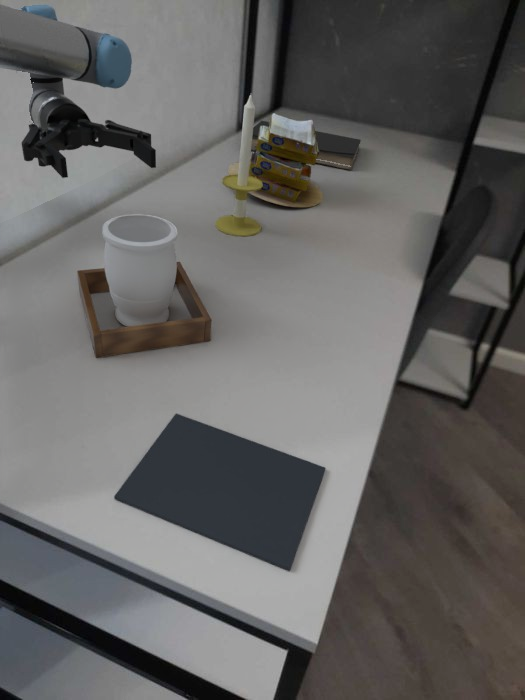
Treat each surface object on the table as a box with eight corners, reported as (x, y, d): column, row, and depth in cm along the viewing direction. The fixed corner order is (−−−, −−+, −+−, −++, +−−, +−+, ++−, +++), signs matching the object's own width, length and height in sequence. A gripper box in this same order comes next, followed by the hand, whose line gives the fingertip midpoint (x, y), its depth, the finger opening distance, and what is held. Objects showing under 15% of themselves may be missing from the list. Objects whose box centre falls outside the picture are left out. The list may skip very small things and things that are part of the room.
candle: (268, 225, 116) (286, 94, 99) (247, 241, 108) (262, 102, 92) (230, 212, 118) (240, 82, 102) (206, 227, 111) (214, 89, 95)
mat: (114, 499, 56) (113, 496, 56) (175, 415, 67) (175, 413, 66) (289, 571, 52) (289, 568, 51) (324, 470, 62) (325, 467, 62)
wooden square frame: (95, 357, 74) (93, 335, 71) (79, 291, 86) (77, 270, 84) (210, 341, 80) (211, 319, 77) (179, 281, 93) (180, 261, 90)
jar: (188, 310, 86) (191, 226, 76) (151, 342, 78) (150, 252, 69) (134, 290, 88) (130, 206, 79) (94, 319, 81) (85, 230, 71)
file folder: (243, 135, 153) (263, 118, 172) (242, 149, 156) (261, 131, 175) (353, 156, 149) (361, 137, 168) (350, 171, 152) (358, 150, 171)
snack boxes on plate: (331, 185, 140) (345, 120, 130) (309, 218, 121) (323, 145, 111) (246, 166, 145) (252, 101, 134) (211, 194, 126) (216, 122, 115)
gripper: (131, 138, 98) (185, 178, 85) (-13, 149, 85) (26, 199, 72) (129, 95, 93) (186, 131, 80) (-23, 100, 80) (16, 143, 68)
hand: (111, 163), depth 76 cm, fingers open, 13 cm apart
